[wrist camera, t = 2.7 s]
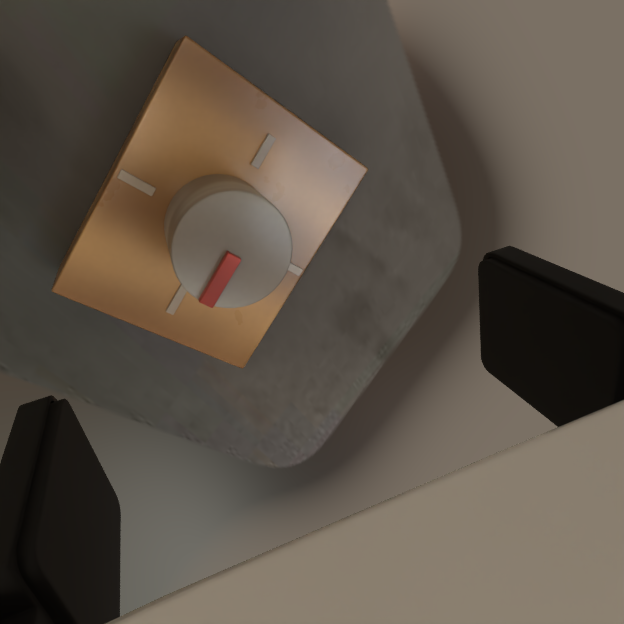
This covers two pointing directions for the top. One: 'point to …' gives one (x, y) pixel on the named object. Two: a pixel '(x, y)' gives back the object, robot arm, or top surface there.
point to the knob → (226, 241)
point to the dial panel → (181, 170)
